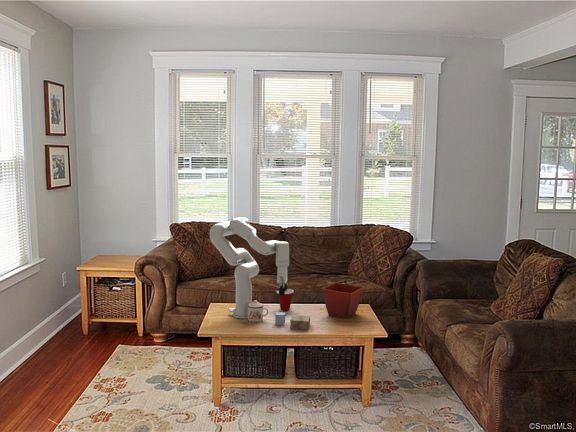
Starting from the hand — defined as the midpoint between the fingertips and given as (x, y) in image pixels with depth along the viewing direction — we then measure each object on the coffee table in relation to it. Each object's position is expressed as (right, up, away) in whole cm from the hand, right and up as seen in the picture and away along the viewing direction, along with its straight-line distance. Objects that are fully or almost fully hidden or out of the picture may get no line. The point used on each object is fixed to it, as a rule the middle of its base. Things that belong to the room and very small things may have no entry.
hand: (283, 292), depth 308 cm
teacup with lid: (-15, -17, +7) cm, 24 cm away
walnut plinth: (+10, -19, -4) cm, 21 cm away
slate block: (-2, -18, +1) cm, 18 cm away
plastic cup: (+1, -15, +29) cm, 33 cm away
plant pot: (+36, -17, +21) cm, 45 cm away
